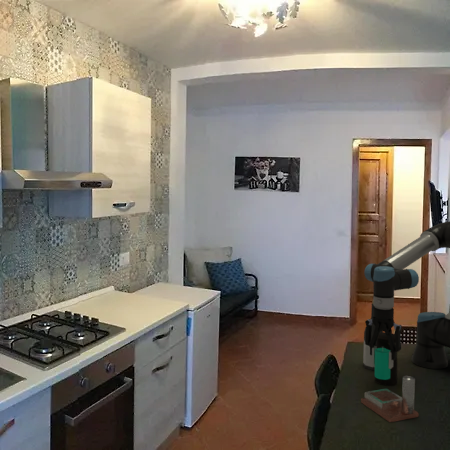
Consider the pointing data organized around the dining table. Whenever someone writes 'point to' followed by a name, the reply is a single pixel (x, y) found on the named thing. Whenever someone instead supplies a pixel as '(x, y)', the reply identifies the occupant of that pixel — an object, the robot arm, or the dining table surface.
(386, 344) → the container
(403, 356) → the dining table surface
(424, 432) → the dining table surface
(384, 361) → the candle
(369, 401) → the brown stand with post
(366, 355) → the wine bottle
